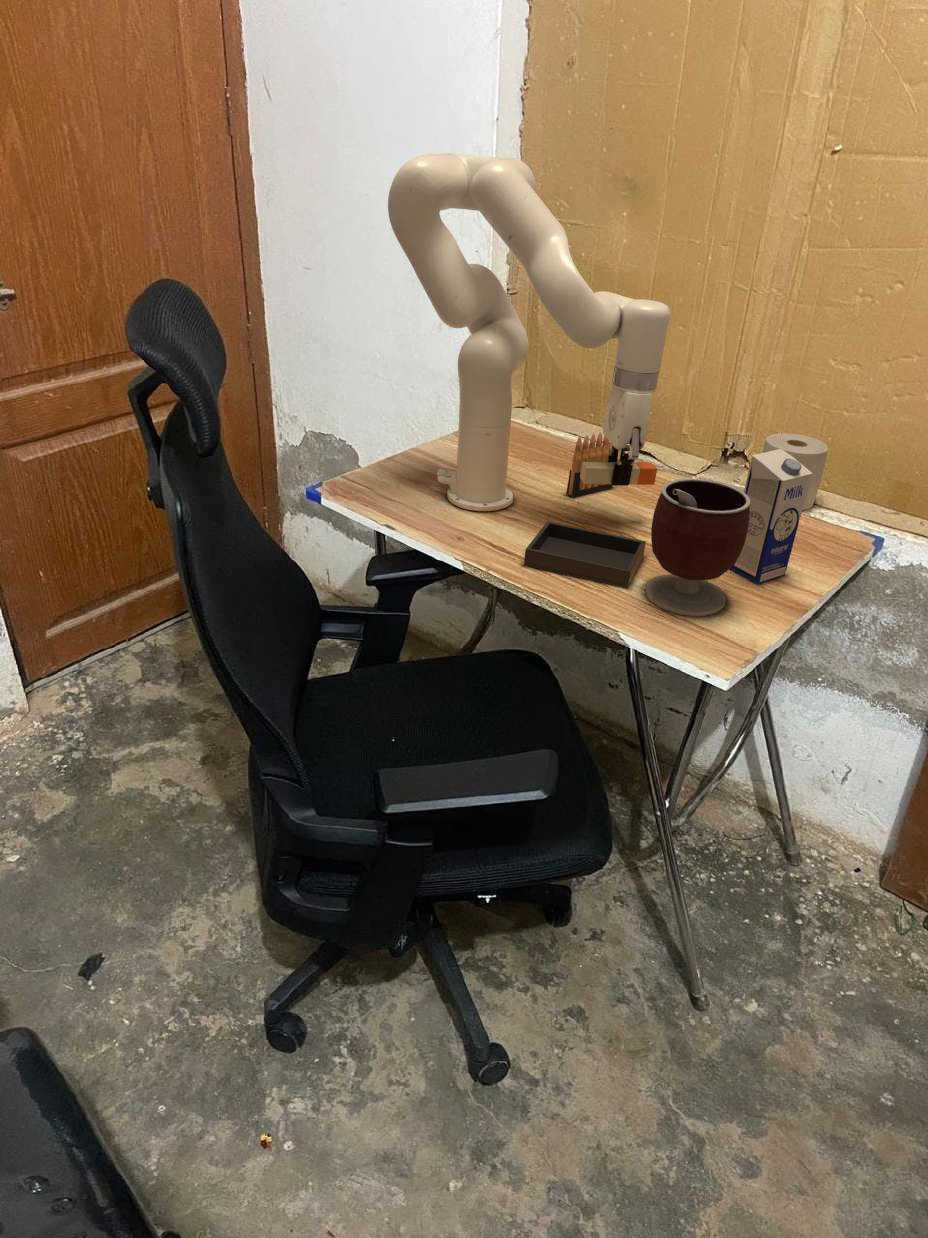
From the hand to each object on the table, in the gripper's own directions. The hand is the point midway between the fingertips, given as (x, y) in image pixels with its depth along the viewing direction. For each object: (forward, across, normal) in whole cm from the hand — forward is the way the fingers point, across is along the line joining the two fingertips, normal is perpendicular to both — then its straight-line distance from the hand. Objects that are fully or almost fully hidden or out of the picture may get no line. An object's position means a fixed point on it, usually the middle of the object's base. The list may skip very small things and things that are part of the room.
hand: (617, 479), depth 155 cm
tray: (+8, +15, -9) cm, 19 cm away
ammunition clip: (+9, -15, 0) cm, 17 cm away
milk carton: (+8, +20, +19) cm, 29 cm away
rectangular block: (0, 0, 0) cm, 0 cm away
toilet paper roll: (+8, -10, +39) cm, 41 cm away
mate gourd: (+8, +28, +3) cm, 30 cm away
